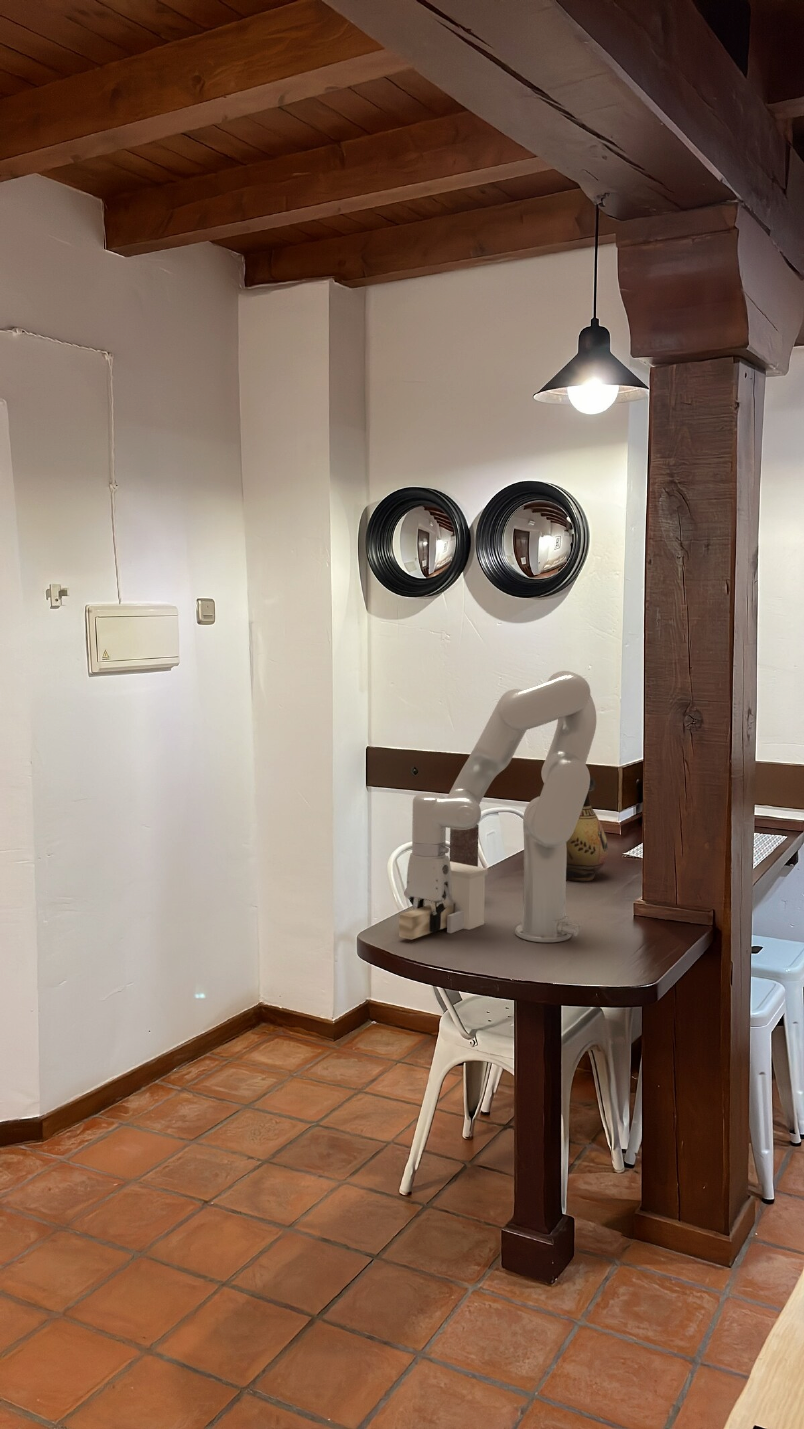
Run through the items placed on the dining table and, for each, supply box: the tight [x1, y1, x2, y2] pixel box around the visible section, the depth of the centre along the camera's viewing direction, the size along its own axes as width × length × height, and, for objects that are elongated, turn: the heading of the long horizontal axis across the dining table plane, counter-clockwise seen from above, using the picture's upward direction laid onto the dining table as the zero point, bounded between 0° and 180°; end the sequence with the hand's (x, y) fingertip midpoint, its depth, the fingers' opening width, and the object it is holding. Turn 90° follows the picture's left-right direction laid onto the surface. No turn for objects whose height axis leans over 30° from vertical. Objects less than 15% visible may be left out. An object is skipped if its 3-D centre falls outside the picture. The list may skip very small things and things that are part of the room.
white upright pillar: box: [442, 862, 489, 934], centre depth 250 cm, size 12×11×13 cm
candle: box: [449, 823, 480, 867], centre depth 270 cm, size 8×7×20 cm
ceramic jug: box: [566, 777, 609, 882], centre depth 297 cm, size 17×15×30 cm
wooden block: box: [398, 900, 455, 941], centre depth 243 cm, size 16×4×5 cm, turn 140°
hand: (427, 928), depth 243 cm, fingers closed on wooden block, 3 cm apart
